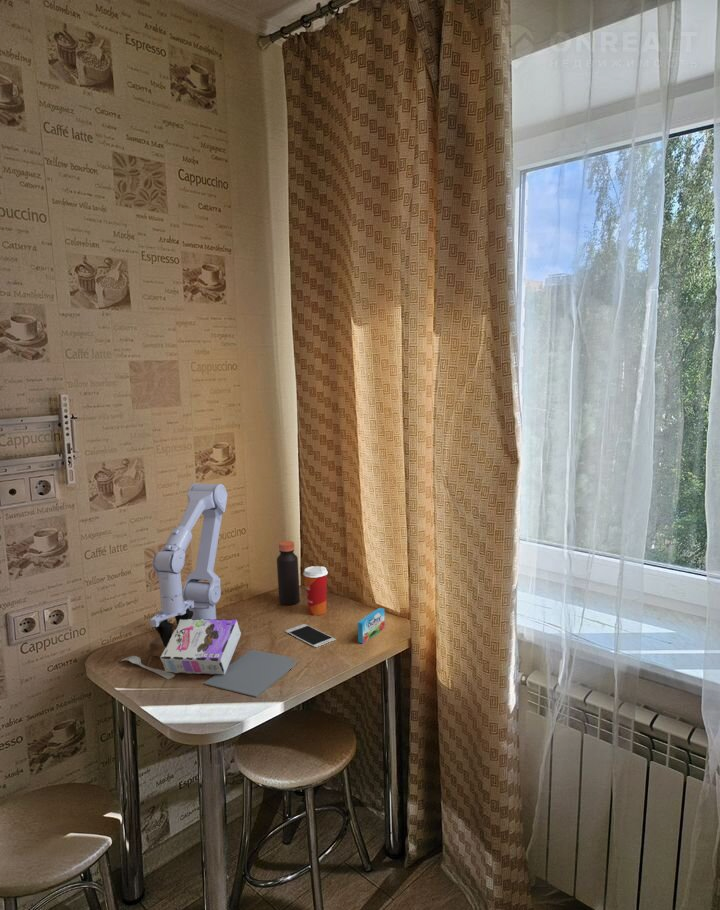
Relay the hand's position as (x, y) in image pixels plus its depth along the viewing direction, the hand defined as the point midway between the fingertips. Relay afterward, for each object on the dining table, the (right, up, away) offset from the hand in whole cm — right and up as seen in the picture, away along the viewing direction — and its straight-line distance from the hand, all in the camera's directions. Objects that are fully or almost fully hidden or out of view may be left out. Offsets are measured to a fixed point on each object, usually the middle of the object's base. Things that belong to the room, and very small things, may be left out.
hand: (175, 641), depth 174 cm
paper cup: (+37, +1, +26) cm, 45 cm away
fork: (-6, -6, -7) cm, 10 cm away
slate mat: (+23, -4, -11) cm, 26 cm away
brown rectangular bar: (+1, -4, +1) cm, 4 cm away
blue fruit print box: (+54, -1, +8) cm, 54 cm away
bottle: (+27, +2, +36) cm, 45 cm away
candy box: (+17, +1, -9) cm, 19 cm away
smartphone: (+36, -2, +9) cm, 37 cm away
